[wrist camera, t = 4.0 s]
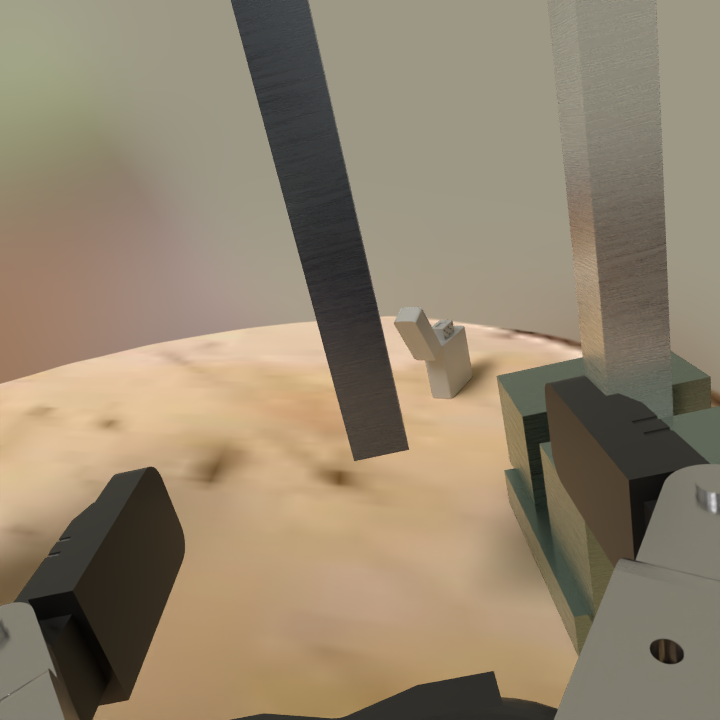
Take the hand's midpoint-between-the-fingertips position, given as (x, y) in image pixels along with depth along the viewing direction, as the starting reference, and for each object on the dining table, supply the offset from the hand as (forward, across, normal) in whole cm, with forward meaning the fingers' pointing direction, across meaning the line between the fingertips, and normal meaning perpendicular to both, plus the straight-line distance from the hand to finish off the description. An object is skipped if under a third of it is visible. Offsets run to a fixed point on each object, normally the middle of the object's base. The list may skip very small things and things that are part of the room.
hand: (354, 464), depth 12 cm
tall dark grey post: (+11, 0, +4) cm, 12 cm away
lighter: (+31, -4, +14) cm, 34 cm away
